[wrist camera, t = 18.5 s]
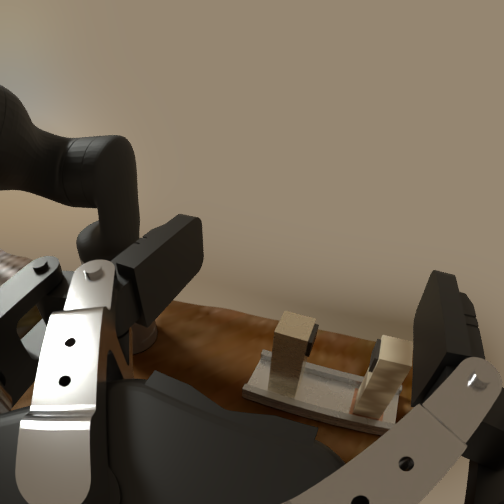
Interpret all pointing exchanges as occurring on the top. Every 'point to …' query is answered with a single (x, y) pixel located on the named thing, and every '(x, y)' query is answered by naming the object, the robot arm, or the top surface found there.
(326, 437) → the top surface
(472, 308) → the robot arm
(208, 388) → the top surface
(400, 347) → the beige tall rectangular block
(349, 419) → the rail
